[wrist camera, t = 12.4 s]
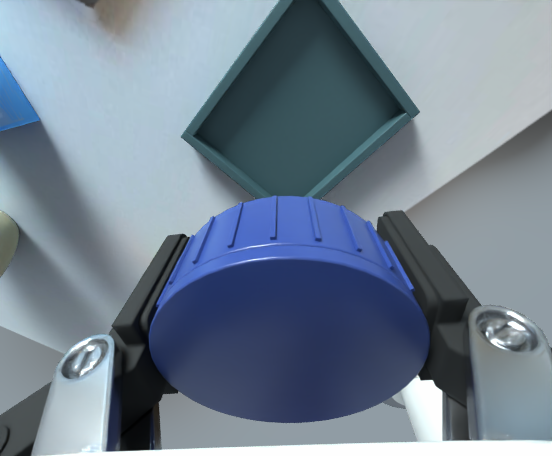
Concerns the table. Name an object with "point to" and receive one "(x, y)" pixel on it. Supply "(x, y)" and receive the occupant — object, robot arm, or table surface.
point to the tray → (300, 104)
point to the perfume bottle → (13, 102)
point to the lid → (288, 314)
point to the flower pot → (7, 240)
